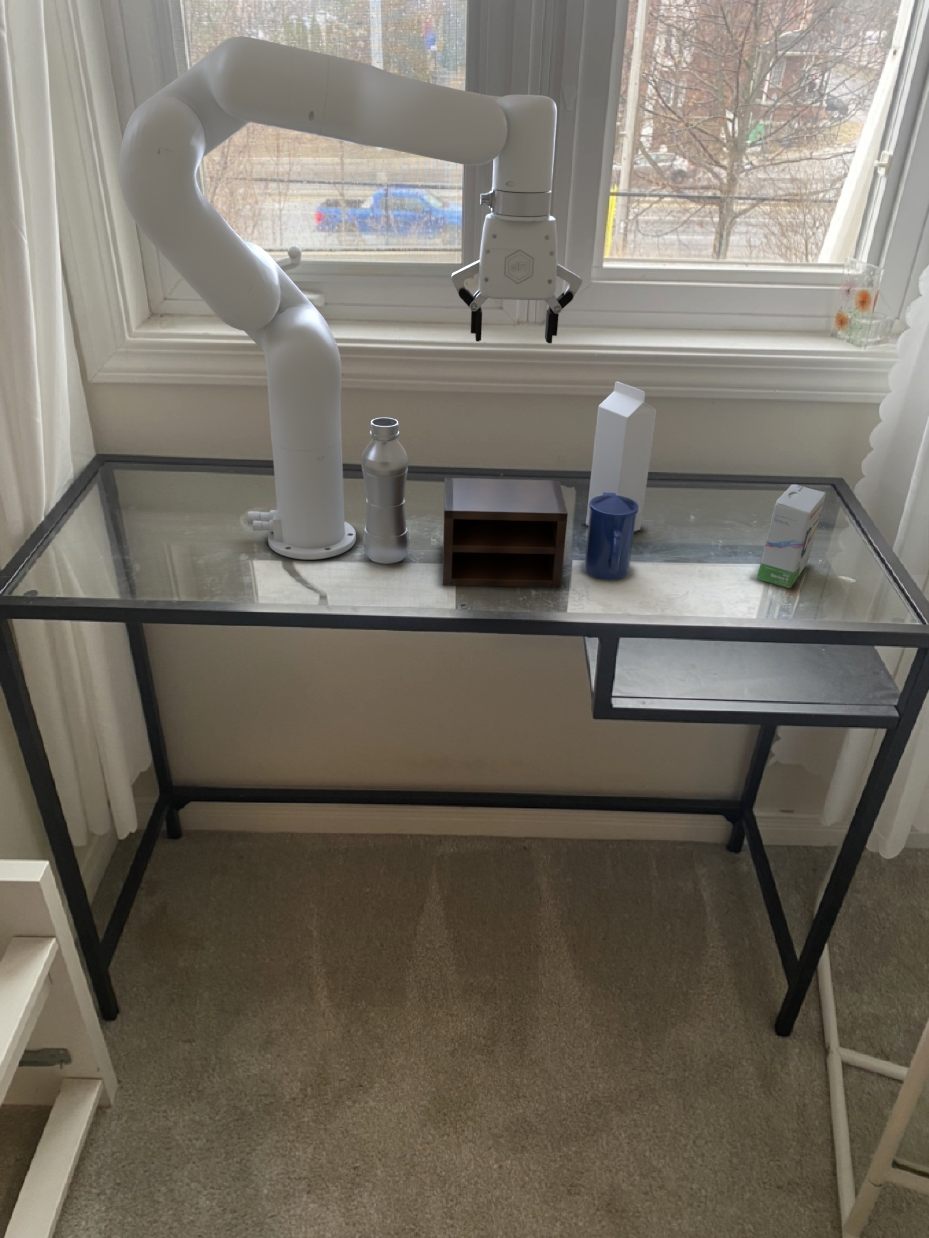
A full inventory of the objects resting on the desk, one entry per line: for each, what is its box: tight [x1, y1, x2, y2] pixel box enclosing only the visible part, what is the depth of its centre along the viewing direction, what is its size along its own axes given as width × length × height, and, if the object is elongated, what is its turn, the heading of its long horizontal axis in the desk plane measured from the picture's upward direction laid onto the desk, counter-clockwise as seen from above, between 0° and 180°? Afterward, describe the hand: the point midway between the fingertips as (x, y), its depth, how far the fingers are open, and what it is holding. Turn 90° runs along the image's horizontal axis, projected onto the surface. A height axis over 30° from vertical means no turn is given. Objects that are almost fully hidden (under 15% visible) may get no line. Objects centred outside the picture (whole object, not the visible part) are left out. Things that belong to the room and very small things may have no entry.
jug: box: [583, 492, 639, 581], centre depth 132 cm, size 7×10×10 cm, turn 1°
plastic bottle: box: [360, 417, 410, 565], centre depth 131 cm, size 6×7×20 cm
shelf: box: [442, 477, 569, 588], centre depth 132 cm, size 16×11×11 cm
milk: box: [585, 380, 658, 532], centre depth 142 cm, size 6×6×22 cm
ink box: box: [756, 483, 827, 589], centre depth 133 cm, size 9×5×12 cm, turn 148°
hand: (513, 340), depth 131 cm, fingers open, 9 cm apart
